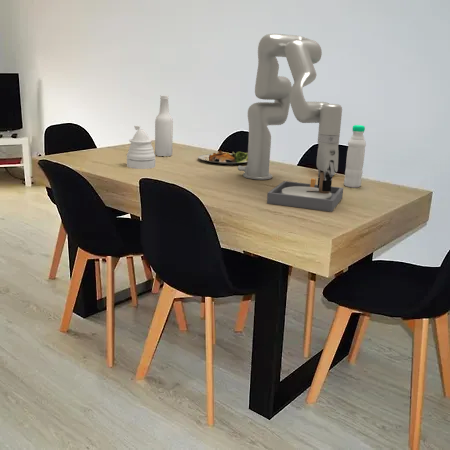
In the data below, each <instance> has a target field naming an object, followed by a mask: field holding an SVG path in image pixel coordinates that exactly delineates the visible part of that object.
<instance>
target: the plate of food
mask: <svg viewBox="0 0 450 450" xmlns="http://www.w3.org/2000/svg"><path fill="white" fill-rule="evenodd" d="M197 158H198V159H199V160H201V161H206V162H208V163H212V164H213V163H215V164H220V165H221V164H223V165H233V164H235V165H238V164H243V163H247V160H248V152H243V151H241V150H240V151H236V153H235V152H234V151H232V153H229V152H226V151H225V152H224V151H222V150H218V151H217V153H216V152H213V153H207V154H201V155H198V156H197ZM207 158H209V160H205V159H207Z"/></svg>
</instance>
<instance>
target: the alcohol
mask: <svg viewBox="0 0 450 450" xmlns="http://www.w3.org/2000/svg"><path fill="white" fill-rule="evenodd" d="M154 124H155V125H154V128H155V129H154V132H155V133H154V154H155V156H156V155H157V156H156V157H159V156H170V157H172V156H173V142H174V141H173V138H174V137H173V135H174V133H173V131H174V127H173V126H174V121H173V118H172V115H171V114H170V109H169V95H168V94H161V95H160V101H159V112H158V115H156V117H155V121H154ZM171 155H172V156H171Z"/></svg>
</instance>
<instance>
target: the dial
mask: <svg viewBox="0 0 450 450" xmlns="http://www.w3.org/2000/svg"><path fill="white" fill-rule="evenodd" d="M327 175H328V174H327ZM319 178H320V182H319V188H315V187H305V186H293V187H286V188H283V189H282V194H288V195H296V196H304V197H312V198H320V199H328V200H330V199H331V196H332V193H331V191H322V184H323V180H324V172H321V173H320V177H319Z"/></svg>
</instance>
